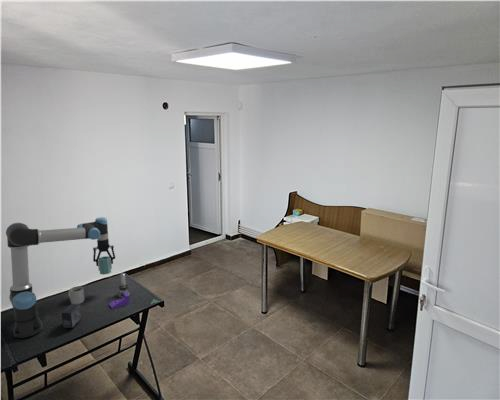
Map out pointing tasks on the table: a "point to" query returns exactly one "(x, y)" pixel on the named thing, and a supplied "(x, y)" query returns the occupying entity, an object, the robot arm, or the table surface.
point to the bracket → (120, 302)
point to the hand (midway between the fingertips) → (105, 269)
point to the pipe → (123, 283)
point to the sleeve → (104, 265)
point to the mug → (76, 295)
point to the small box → (71, 316)
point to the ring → (123, 287)
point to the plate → (122, 296)
